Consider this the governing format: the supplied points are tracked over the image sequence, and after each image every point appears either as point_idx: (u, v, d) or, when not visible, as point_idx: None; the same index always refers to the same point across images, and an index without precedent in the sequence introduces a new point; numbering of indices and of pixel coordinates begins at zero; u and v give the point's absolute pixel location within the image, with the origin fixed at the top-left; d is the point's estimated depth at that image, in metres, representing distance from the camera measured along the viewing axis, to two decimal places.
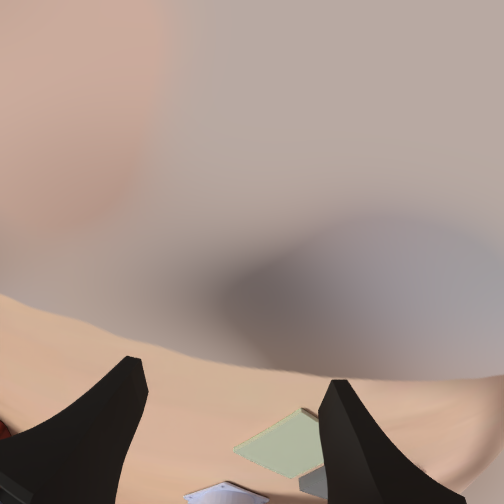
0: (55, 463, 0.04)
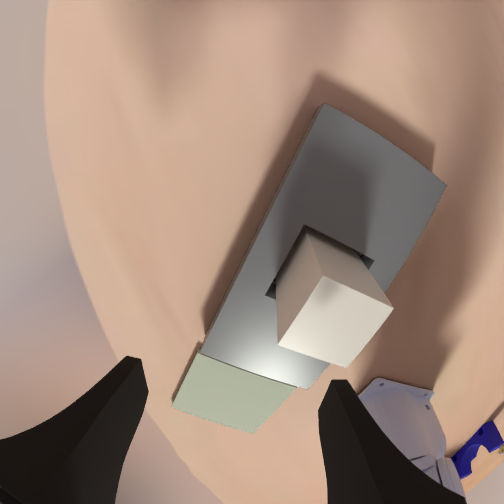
0: (55, 463, 0.04)
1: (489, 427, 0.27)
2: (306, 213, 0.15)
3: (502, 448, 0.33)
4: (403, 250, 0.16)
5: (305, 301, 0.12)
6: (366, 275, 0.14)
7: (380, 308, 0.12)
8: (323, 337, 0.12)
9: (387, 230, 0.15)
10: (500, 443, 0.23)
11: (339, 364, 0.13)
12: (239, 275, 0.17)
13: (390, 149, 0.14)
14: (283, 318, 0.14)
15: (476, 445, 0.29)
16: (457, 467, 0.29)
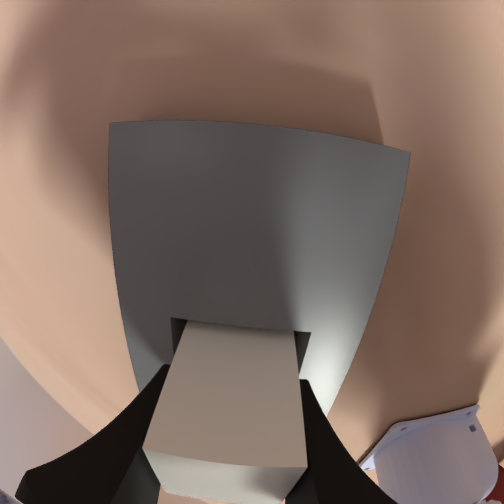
0: (110, 487, 0.04)
1: None
2: (164, 302, 0.09)
3: None
4: (360, 300, 0.09)
5: (153, 463, 0.06)
6: (279, 384, 0.08)
7: (277, 471, 0.05)
8: (212, 491, 0.06)
9: (314, 282, 0.09)
10: None
11: None
12: (139, 385, 0.11)
13: (255, 137, 0.07)
14: None
15: None
16: None
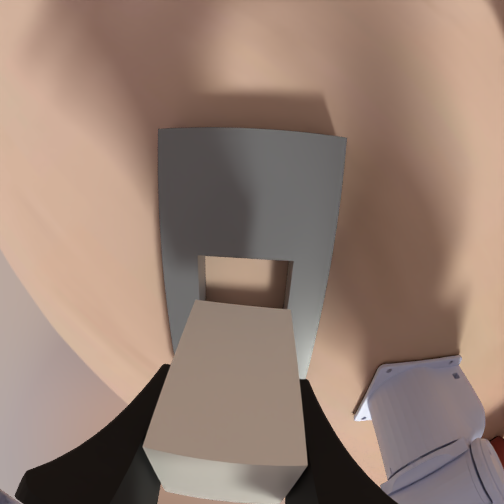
0: (110, 487, 0.04)
1: None
2: (194, 244, 0.15)
3: None
4: (324, 236, 0.14)
5: (153, 463, 0.06)
6: (279, 383, 0.08)
7: (278, 469, 0.05)
8: (213, 490, 0.06)
9: (291, 224, 0.14)
10: None
11: (265, 503, 0.07)
12: (170, 319, 0.17)
13: (249, 135, 0.12)
14: None
15: None
16: None
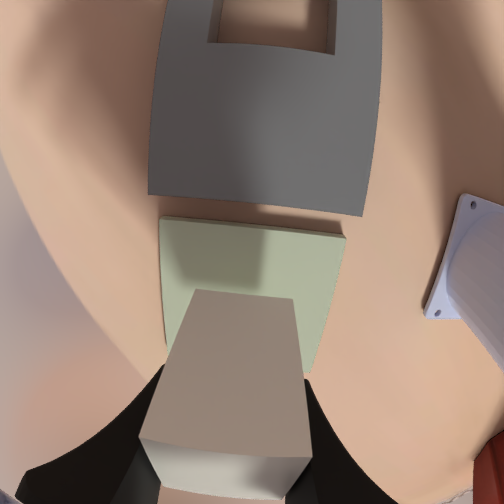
0: (110, 487, 0.04)
1: None
2: None
3: None
4: None
5: (150, 455, 0.06)
6: (281, 371, 0.08)
7: (281, 461, 0.05)
8: (213, 485, 0.06)
9: None
10: None
11: (266, 498, 0.07)
12: (162, 34, 0.09)
13: None
14: None
15: None
16: None
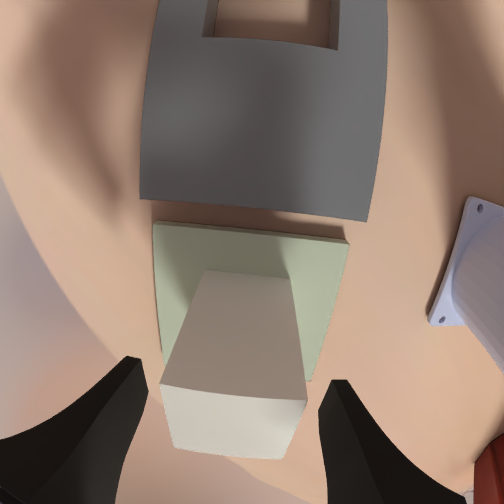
0: (55, 463, 0.04)
1: None
2: None
3: None
4: None
5: (166, 408, 0.07)
6: (280, 334, 0.09)
7: (281, 404, 0.07)
8: (220, 439, 0.08)
9: None
10: None
11: (268, 457, 0.08)
12: (155, 29, 0.08)
13: None
14: None
15: None
16: None
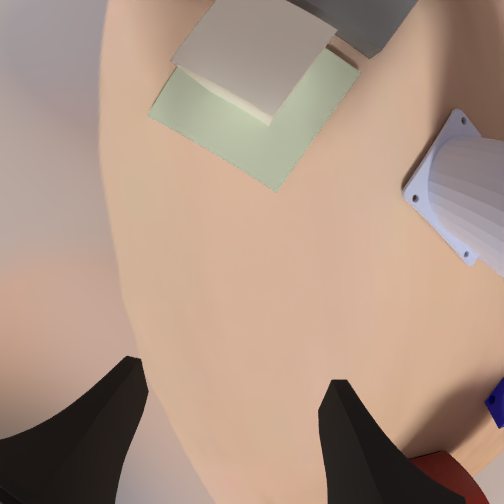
0: (55, 463, 0.04)
1: None
2: None
3: None
4: None
5: (213, 6, 0.07)
6: None
7: (316, 24, 0.07)
8: (234, 50, 0.07)
9: None
10: None
11: (261, 105, 0.08)
12: None
13: None
14: None
15: None
16: (497, 410, 0.23)
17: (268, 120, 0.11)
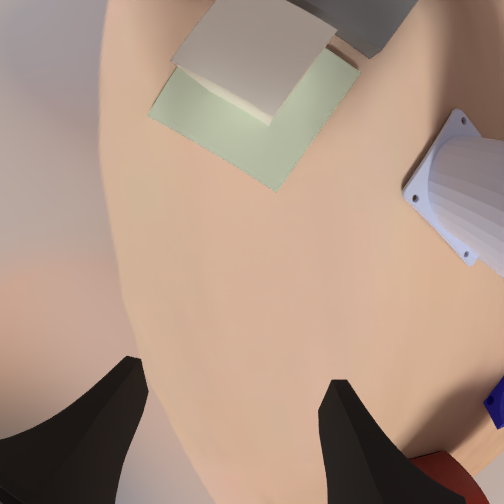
0: (55, 463, 0.04)
1: None
2: None
3: None
4: None
5: (213, 6, 0.07)
6: None
7: (316, 24, 0.07)
8: (234, 50, 0.07)
9: None
10: None
11: (261, 105, 0.08)
12: None
13: None
14: None
15: None
16: (495, 411, 0.23)
17: (268, 120, 0.11)
